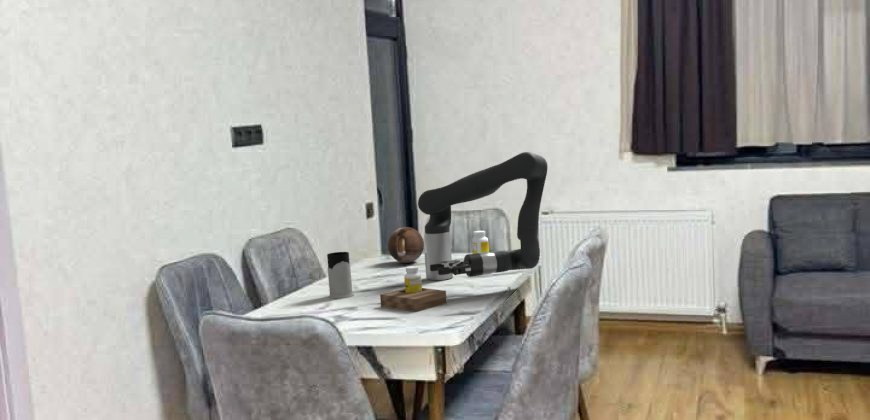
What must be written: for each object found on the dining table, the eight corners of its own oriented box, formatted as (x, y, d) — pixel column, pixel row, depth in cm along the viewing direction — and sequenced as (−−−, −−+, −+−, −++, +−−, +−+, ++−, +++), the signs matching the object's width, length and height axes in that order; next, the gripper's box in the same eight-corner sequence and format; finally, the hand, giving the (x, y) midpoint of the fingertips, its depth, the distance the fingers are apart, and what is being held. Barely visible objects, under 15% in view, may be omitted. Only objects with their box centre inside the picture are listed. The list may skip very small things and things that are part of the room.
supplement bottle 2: (491, 261, 361) (489, 230, 359) (487, 264, 354) (485, 232, 353) (476, 261, 363) (473, 230, 362) (471, 264, 357) (469, 232, 355)
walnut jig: (381, 306, 287) (380, 294, 286) (412, 298, 297) (411, 286, 296) (415, 311, 276) (414, 299, 275) (446, 303, 285) (445, 290, 285)
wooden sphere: (404, 259, 382) (401, 224, 381) (432, 260, 374) (429, 225, 372) (382, 265, 370) (379, 229, 369) (410, 266, 362) (408, 230, 360)
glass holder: (334, 300, 303) (330, 256, 302) (319, 294, 316) (316, 252, 314) (357, 296, 307) (354, 253, 306) (342, 290, 320) (339, 249, 318)
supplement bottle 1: (405, 295, 291) (403, 266, 290) (421, 294, 292) (420, 265, 291) (405, 298, 286) (403, 268, 285) (422, 297, 286) (420, 267, 285)
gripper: (472, 250, 302) (426, 255, 297) (487, 255, 288) (440, 261, 283) (473, 272, 302) (428, 278, 298) (489, 278, 289) (441, 284, 284)
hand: (434, 269), depth 290 cm, fingers open, 8 cm apart
